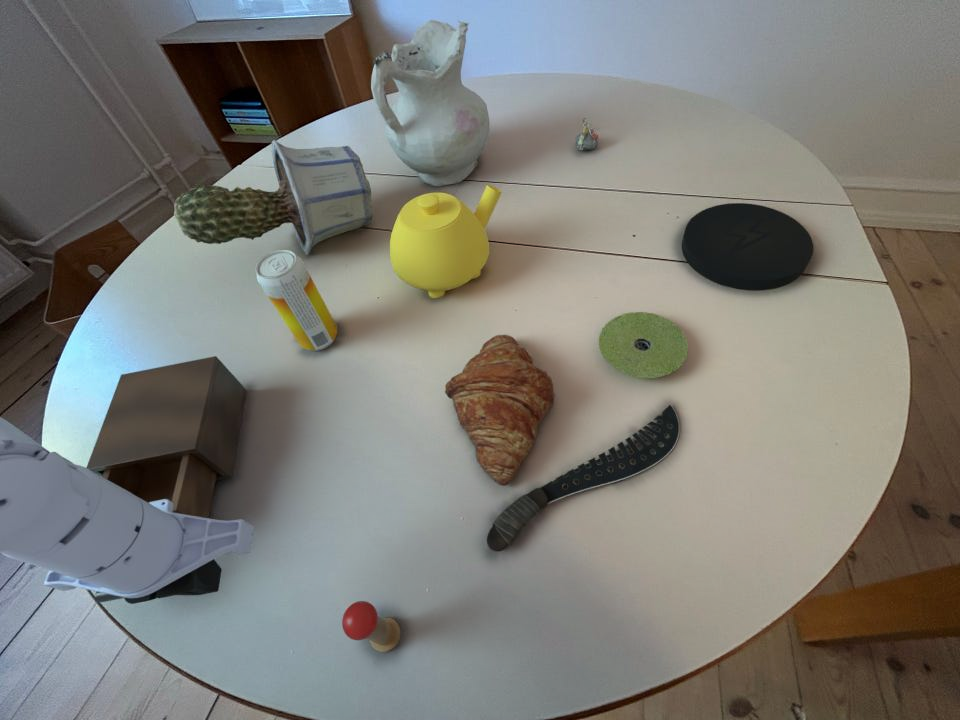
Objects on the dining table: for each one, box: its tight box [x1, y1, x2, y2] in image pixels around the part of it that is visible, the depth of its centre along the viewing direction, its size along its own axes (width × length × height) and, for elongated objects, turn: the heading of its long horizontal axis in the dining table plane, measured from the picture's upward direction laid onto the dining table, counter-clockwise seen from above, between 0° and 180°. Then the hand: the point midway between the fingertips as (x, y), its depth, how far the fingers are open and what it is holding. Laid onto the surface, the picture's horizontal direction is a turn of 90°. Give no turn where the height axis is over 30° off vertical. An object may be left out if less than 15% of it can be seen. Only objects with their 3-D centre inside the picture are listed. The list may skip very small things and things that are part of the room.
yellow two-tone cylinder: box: [255, 249, 338, 352], centre depth 68 cm, size 6×6×15 cm
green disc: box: [598, 311, 689, 380], centre depth 65 cm, size 11×11×2 cm
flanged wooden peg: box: [366, 615, 401, 653], centre depth 46 cm, size 3×3×7 cm
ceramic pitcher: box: [370, 19, 490, 187], centre depth 88 cm, size 22×20×25 cm
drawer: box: [94, 453, 217, 604], centre depth 55 cm, size 17×11×6 cm, turn 9°
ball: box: [341, 600, 379, 641], centre depth 42 cm, size 3×3×3 cm
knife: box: [486, 403, 680, 553], centre depth 55 cm, size 28×2×5 cm
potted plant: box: [173, 139, 374, 255], centre depth 81 cm, size 18×18×30 cm
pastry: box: [444, 334, 556, 486], centre depth 60 cm, size 17×15×8 cm
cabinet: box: [85, 355, 248, 482], centre depth 62 cm, size 14×13×8 cm
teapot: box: [389, 184, 503, 299], centre depth 75 cm, size 20×16×14 cm
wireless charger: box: [681, 202, 814, 291], centre depth 74 cm, size 18×18×2 cm
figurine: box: [575, 117, 599, 151], centre depth 95 cm, size 5×4×6 cm
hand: (212, 581), depth 43 cm, fingers closed
